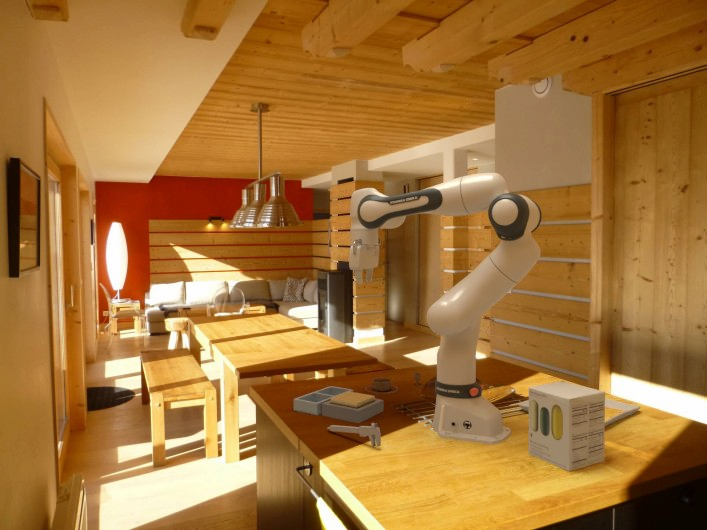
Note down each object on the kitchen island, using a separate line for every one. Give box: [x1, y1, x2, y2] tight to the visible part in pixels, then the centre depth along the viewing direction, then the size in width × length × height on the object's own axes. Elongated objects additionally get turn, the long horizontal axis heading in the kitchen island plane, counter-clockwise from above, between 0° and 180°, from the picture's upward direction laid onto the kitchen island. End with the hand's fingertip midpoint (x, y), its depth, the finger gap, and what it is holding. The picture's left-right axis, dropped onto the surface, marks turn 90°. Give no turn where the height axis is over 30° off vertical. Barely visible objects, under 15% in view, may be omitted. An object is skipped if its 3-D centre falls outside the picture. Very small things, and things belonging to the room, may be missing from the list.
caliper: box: [326, 422, 382, 448], centre depth 156 cm, size 20×1×6 cm, turn 44°
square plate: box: [517, 397, 641, 427], centre depth 177 cm, size 27×27×4 cm
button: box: [331, 391, 376, 409], centre depth 179 cm, size 10×10×4 cm
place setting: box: [365, 372, 421, 395], centre depth 206 cm, size 18×20×6 cm
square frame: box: [321, 398, 385, 424], centre depth 179 cm, size 14×14×4 cm
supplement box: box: [527, 380, 606, 472], centre depth 142 cm, size 13×13×18 cm
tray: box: [293, 385, 354, 417], centre depth 188 cm, size 20×10×4 cm, turn 145°
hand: (364, 283), depth 180 cm, fingers open, 8 cm apart
